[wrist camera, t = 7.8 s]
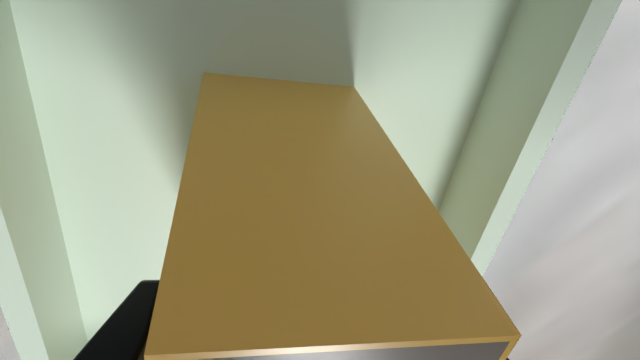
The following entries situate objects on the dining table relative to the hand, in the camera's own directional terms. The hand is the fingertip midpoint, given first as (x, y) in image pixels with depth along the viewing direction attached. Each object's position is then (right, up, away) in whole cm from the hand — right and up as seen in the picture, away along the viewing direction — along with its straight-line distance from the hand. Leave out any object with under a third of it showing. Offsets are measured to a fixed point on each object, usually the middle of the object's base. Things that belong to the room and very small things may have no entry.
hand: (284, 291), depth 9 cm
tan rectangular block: (-1, +3, +4) cm, 5 cm away
